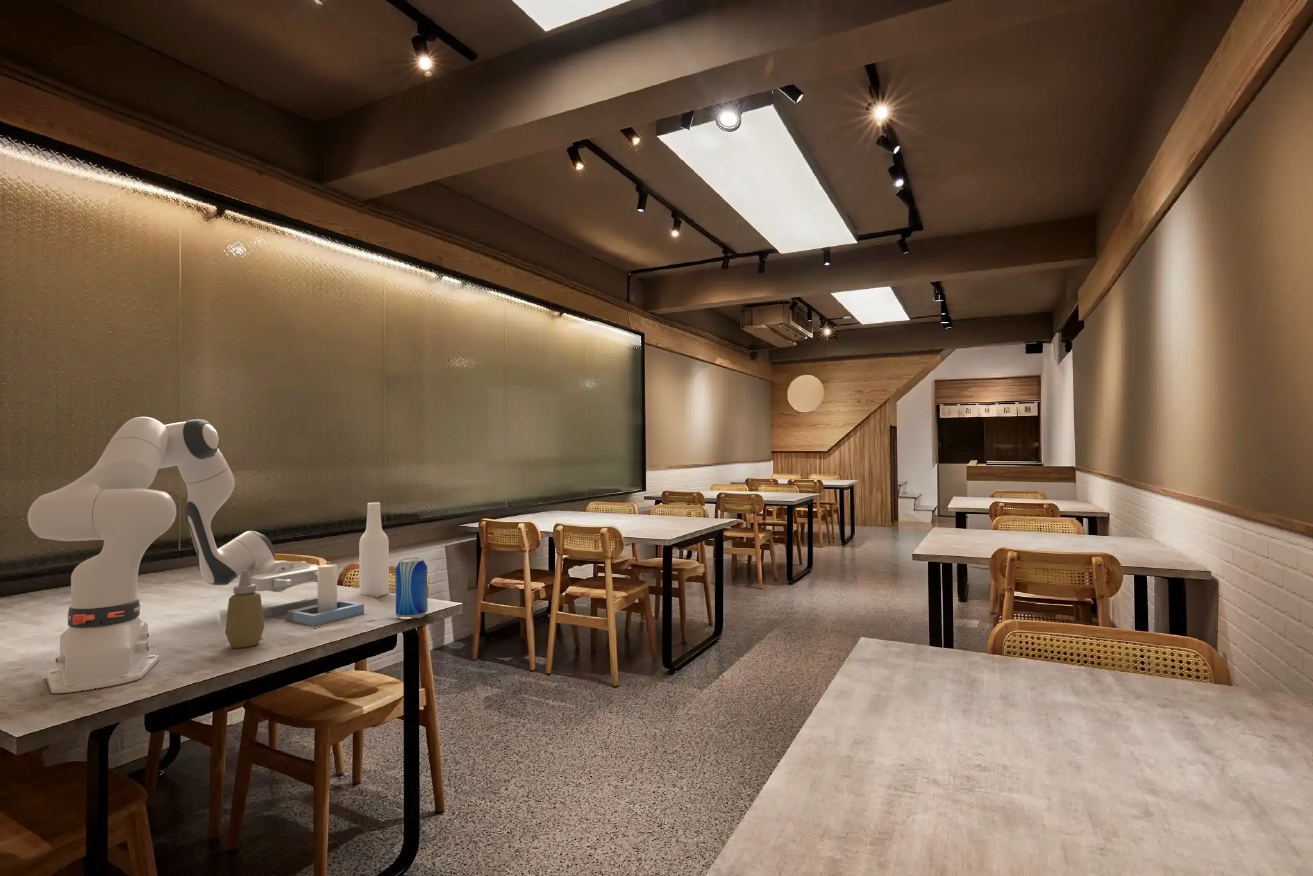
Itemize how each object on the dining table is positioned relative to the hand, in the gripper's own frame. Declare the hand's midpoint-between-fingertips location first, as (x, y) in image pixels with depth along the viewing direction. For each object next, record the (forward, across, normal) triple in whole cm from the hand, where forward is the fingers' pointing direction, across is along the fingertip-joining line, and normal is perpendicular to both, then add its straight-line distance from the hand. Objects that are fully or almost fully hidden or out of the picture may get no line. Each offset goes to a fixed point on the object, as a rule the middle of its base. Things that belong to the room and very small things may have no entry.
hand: (304, 580), depth 188 cm
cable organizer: (+5, 0, +10) cm, 11 cm away
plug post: (+10, 0, +9) cm, 14 cm away
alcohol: (-6, +27, +10) cm, 30 cm away
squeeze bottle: (+14, -24, +10) cm, 30 cm away
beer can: (+28, +14, +10) cm, 33 cm away
